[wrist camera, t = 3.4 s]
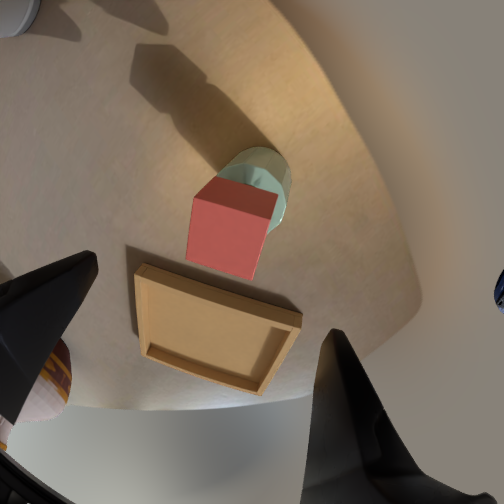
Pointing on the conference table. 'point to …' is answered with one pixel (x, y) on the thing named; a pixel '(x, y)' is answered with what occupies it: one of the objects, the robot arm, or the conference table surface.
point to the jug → (45, 392)
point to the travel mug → (17, 16)
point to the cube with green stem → (229, 226)
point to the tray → (211, 330)
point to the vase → (262, 176)
